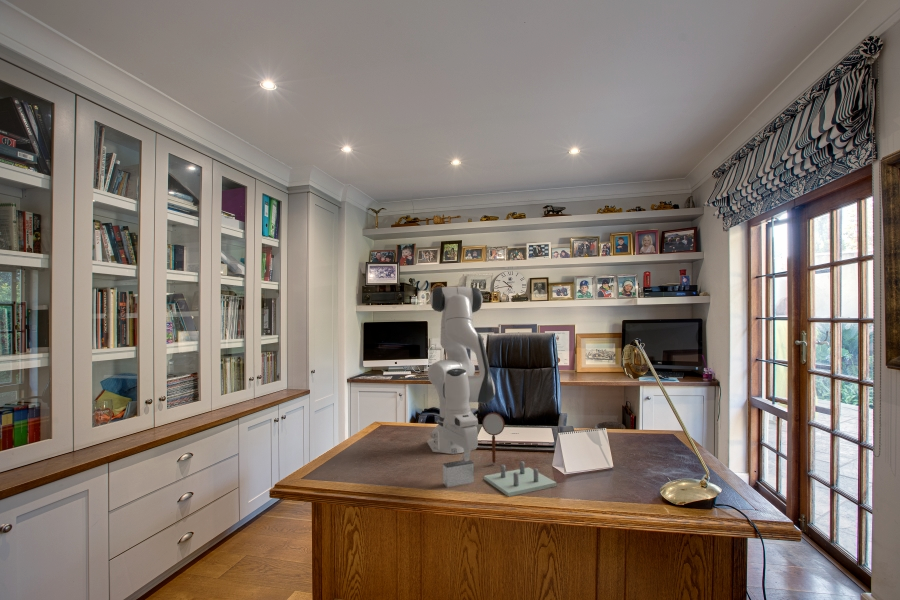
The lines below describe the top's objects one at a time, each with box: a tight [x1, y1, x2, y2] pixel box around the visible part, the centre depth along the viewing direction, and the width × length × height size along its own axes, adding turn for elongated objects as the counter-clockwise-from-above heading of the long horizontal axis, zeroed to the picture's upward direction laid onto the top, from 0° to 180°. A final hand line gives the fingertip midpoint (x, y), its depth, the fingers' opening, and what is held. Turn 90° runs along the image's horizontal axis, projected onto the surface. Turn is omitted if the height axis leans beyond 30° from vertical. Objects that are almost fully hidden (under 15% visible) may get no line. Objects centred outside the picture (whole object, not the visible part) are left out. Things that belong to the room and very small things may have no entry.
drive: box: [442, 459, 475, 488], centre depth 145 cm, size 4×10×7 cm, turn 114°
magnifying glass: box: [481, 412, 505, 466], centre depth 163 cm, size 9×2×20 cm, turn 74°
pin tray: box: [483, 460, 557, 497], centre depth 145 cm, size 16×19×5 cm
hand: (459, 457), depth 145 cm, fingers open, 8 cm apart
